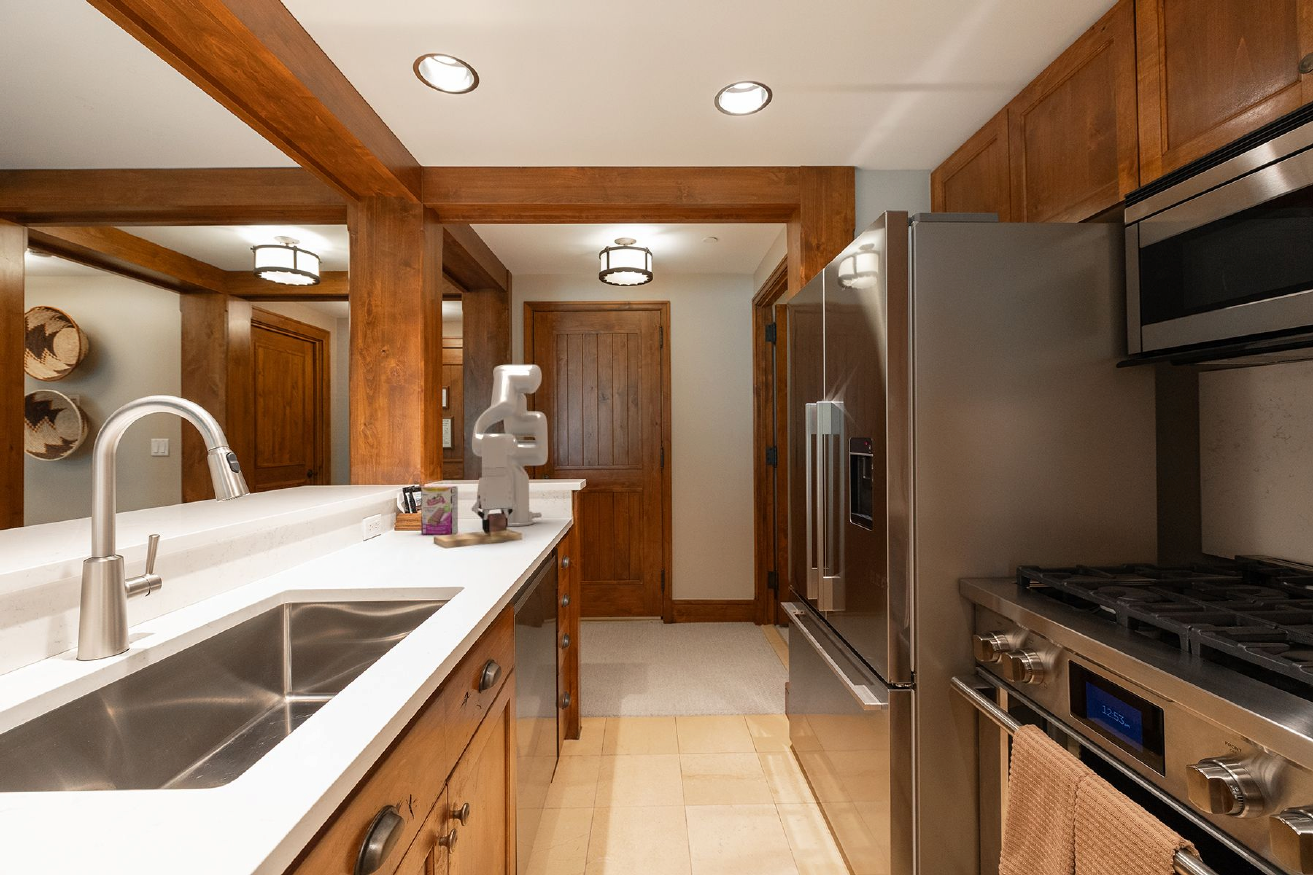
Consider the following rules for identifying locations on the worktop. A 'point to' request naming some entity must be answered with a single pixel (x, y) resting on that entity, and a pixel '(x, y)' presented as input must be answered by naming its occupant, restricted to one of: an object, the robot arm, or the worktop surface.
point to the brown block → (497, 526)
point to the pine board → (472, 539)
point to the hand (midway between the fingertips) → (495, 530)
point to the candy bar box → (439, 510)
